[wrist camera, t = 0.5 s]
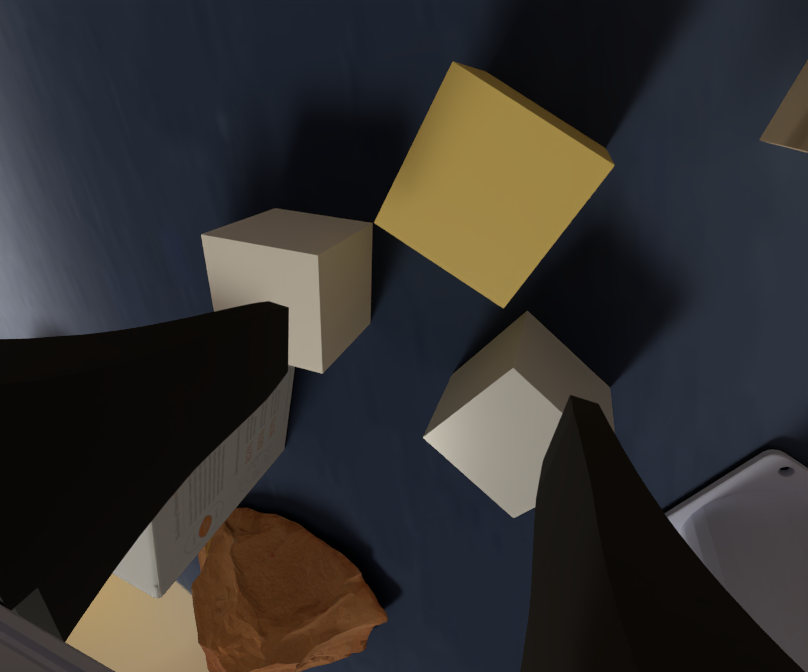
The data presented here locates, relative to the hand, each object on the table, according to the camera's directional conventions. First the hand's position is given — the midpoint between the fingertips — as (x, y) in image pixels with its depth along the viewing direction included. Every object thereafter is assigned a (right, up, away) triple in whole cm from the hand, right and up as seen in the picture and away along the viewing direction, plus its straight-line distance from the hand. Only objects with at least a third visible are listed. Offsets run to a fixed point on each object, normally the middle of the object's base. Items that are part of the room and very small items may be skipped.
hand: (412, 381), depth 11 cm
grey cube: (+5, -1, +10) cm, 11 cm away
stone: (-9, -17, +24) cm, 31 cm away
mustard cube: (+4, +7, +6) cm, 10 cm away
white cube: (-4, +5, +11) cm, 12 cm away
